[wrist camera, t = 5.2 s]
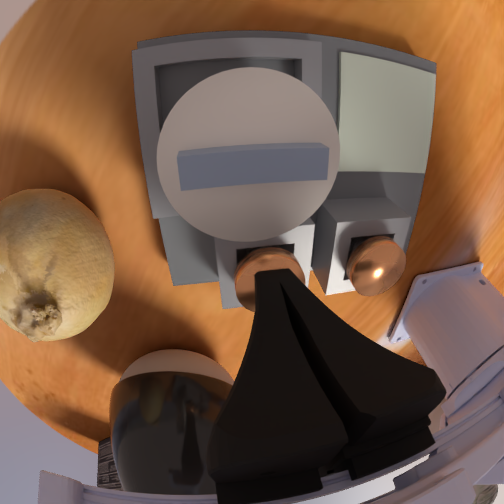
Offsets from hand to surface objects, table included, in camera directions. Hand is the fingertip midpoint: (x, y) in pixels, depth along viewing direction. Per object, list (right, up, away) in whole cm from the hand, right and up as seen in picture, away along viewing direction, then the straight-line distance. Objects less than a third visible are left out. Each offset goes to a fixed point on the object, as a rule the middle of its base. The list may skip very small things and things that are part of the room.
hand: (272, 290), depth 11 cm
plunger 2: (+5, +2, +3) cm, 6 cm away
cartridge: (-2, +7, 0) cm, 7 cm away
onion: (-12, +3, +3) cm, 12 cm away
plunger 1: (0, +2, +2) cm, 3 cm away
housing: (+2, +6, +2) cm, 7 cm away
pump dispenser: (-7, -8, +10) cm, 15 cm away
